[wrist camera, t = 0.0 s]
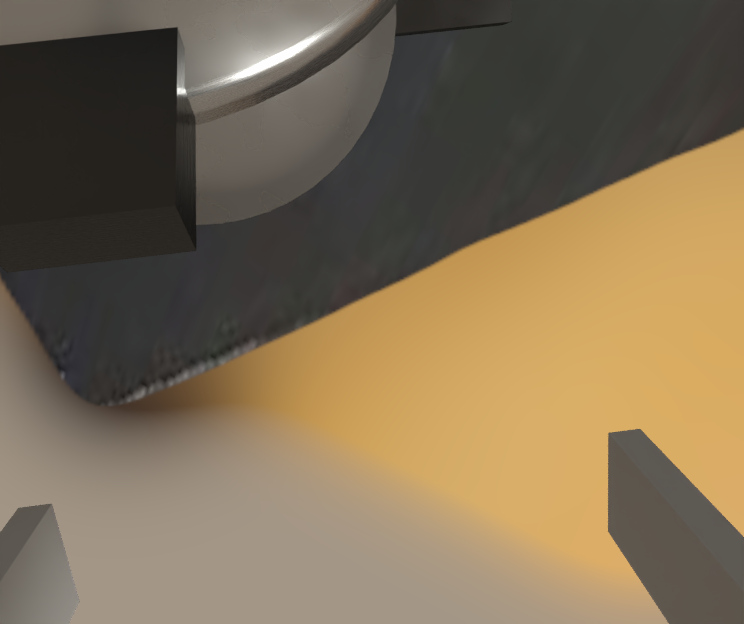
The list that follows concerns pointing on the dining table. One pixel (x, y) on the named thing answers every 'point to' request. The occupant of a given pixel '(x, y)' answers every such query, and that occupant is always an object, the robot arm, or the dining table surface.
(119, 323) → the dining table surface
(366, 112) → the steel pot
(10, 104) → the pot lid
